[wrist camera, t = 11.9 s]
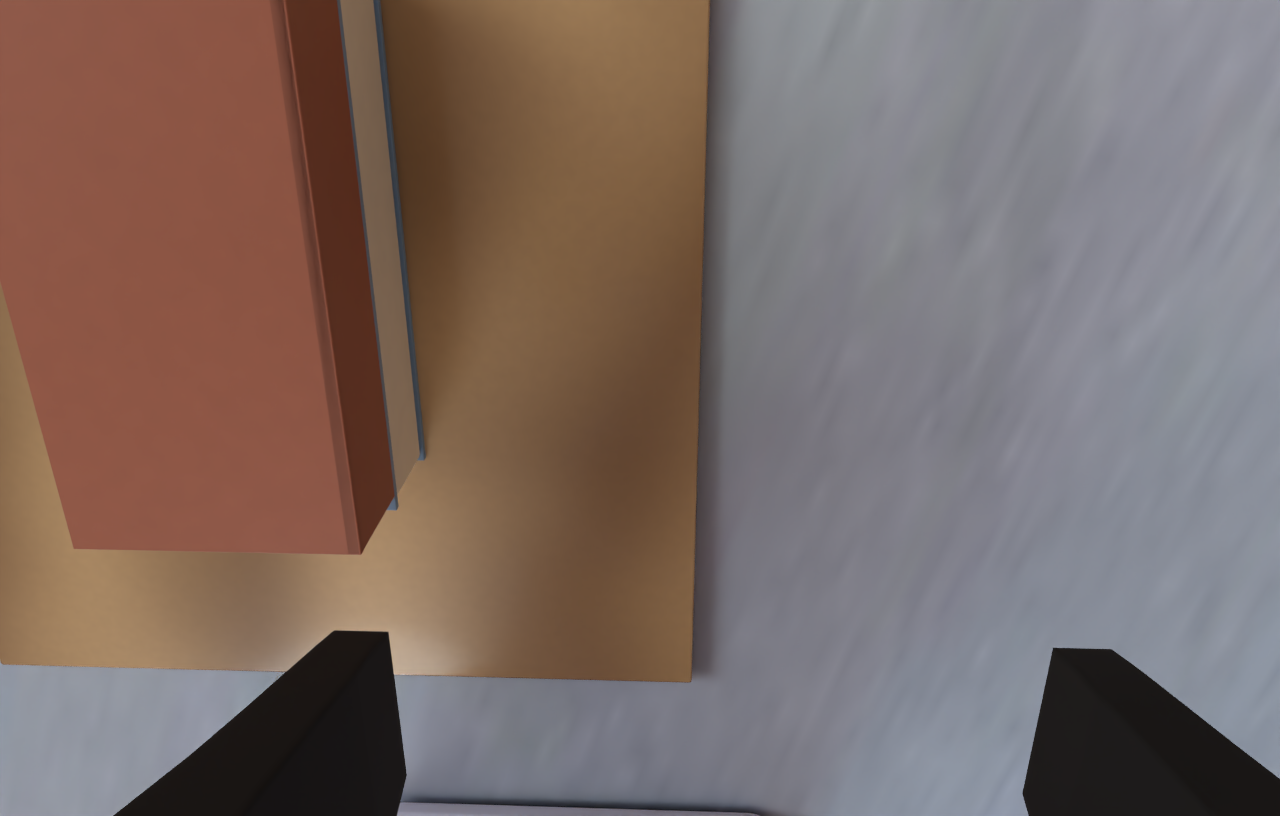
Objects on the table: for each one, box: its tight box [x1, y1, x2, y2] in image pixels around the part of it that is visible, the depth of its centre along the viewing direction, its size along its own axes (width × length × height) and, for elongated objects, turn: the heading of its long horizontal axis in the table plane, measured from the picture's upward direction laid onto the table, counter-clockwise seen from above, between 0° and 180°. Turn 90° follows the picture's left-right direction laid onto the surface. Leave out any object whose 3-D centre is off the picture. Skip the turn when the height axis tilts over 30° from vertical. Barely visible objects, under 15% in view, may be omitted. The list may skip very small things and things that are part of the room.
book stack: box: [0, 0, 426, 555], centre depth 16 cm, size 5×9×4 cm, turn 0°
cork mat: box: [0, 0, 710, 682], centre depth 18 cm, size 16×20×1 cm
